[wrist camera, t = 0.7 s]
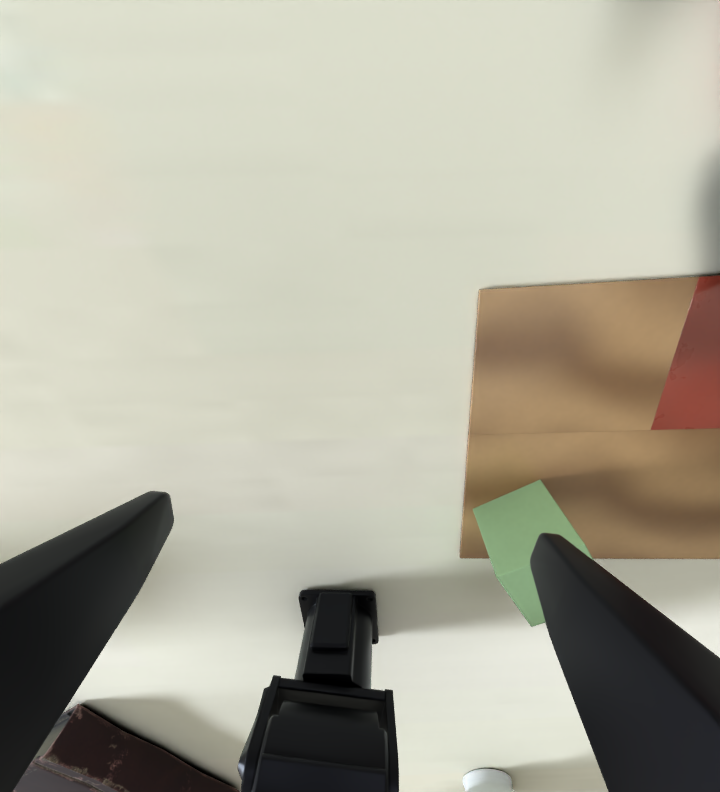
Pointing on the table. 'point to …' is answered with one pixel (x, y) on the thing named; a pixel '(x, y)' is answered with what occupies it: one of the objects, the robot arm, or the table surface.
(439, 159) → the table surface
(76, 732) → the diary
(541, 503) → the green nearly cubic block
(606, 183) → the table surface
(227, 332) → the table surface
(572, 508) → the brown red square board
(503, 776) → the teacup
